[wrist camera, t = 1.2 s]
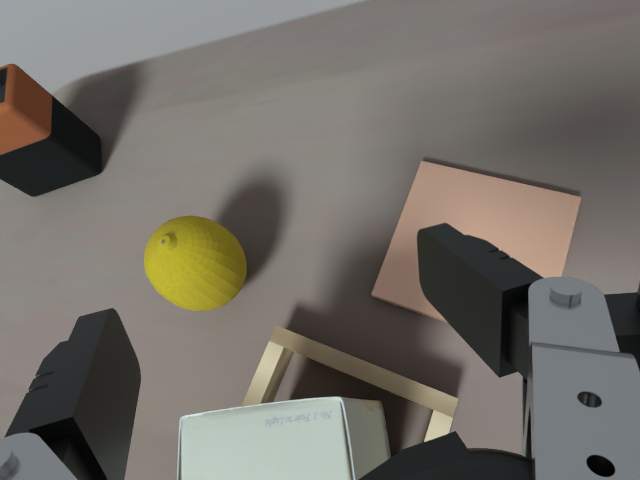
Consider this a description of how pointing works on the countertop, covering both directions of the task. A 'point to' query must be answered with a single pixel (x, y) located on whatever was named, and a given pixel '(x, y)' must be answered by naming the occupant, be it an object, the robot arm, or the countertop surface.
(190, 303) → the lemon
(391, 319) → the countertop surface
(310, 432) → the skincare box
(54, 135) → the battery
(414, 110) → the countertop surface
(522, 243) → the terracotta tile
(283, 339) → the square wooden frame
